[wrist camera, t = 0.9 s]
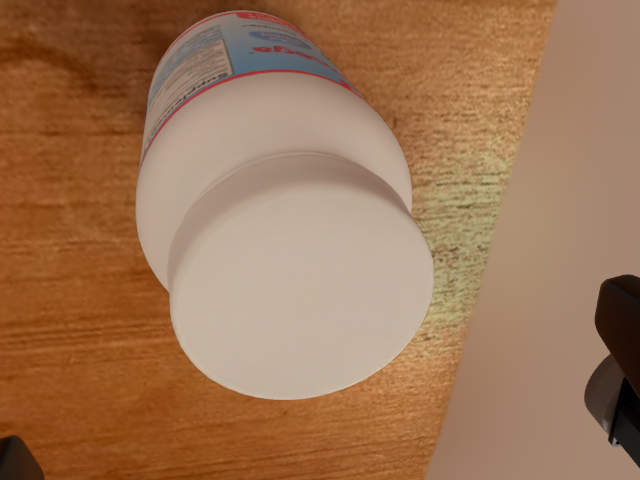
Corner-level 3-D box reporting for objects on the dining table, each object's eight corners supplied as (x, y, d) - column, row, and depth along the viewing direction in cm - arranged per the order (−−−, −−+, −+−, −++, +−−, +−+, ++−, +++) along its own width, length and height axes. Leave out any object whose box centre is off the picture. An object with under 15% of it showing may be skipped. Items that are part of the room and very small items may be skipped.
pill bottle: (364, 101, 20) (536, 287, 11) (242, 214, 21) (300, 470, 12) (241, -41, 17) (332, 48, 7) (106, 103, 18) (39, 332, 9)
